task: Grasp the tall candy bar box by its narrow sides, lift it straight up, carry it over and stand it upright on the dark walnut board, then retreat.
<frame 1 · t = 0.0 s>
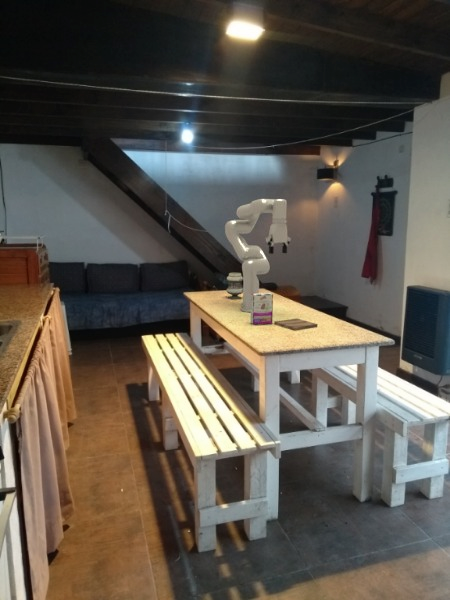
hand: (277, 253, 246), 37 cm above the table, tool pointing down, fingers open, 9 cm apart
apothecary jar: (234, 298, 313), on the table
walnut board: (295, 325, 234), on the table
candy bar box: (261, 323, 238), on the table
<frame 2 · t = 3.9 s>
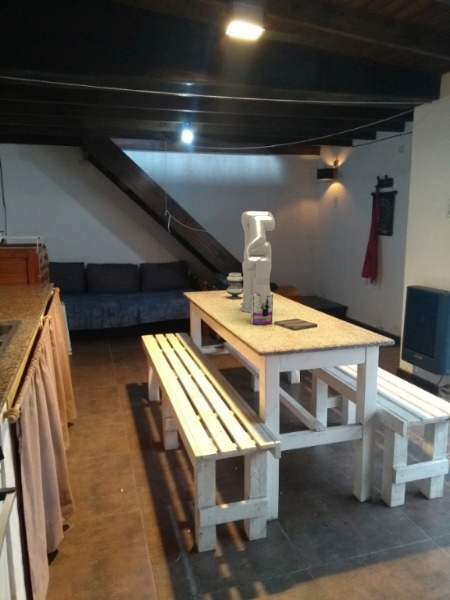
hand: (261, 314, 237), 5 cm above the table, tool pointing down, fingers closed on candy bar box, 6 cm apart
candy bar box: (261, 323, 238), on the table, touching gripper
everything else where it was.
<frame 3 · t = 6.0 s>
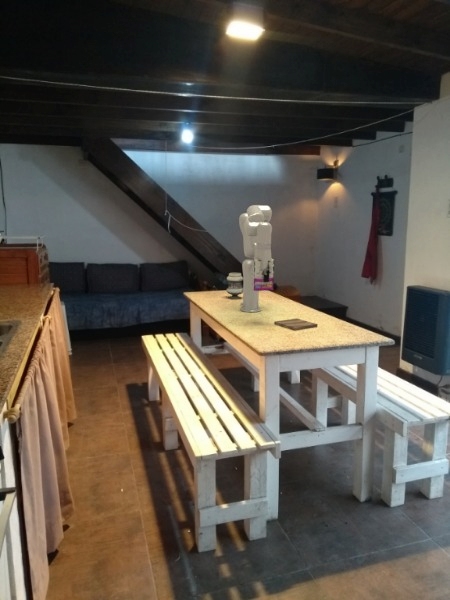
hand: (262, 280, 234), 23 cm above the table, tool pointing down, fingers closed on candy bar box, 6 cm apart
candy bar box: (261, 290, 235), point 18 cm above the table, touching gripper
everything else where it was.
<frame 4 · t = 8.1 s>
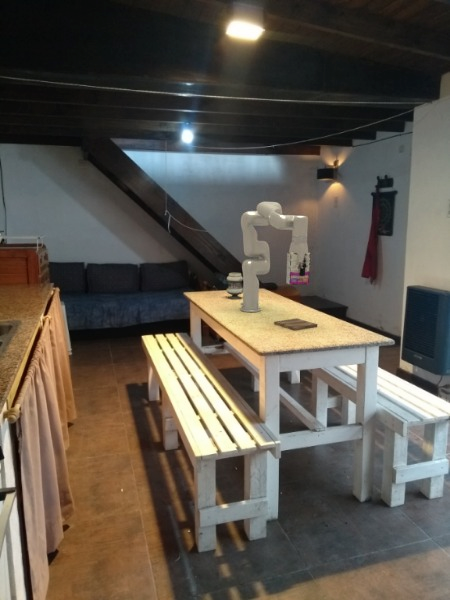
hand: (297, 274, 229), 27 cm above the table, tool pointing down, fingers closed on candy bar box, 6 cm apart
candy bar box: (297, 284, 230), point 22 cm above the table, touching gripper
everything else where it was.
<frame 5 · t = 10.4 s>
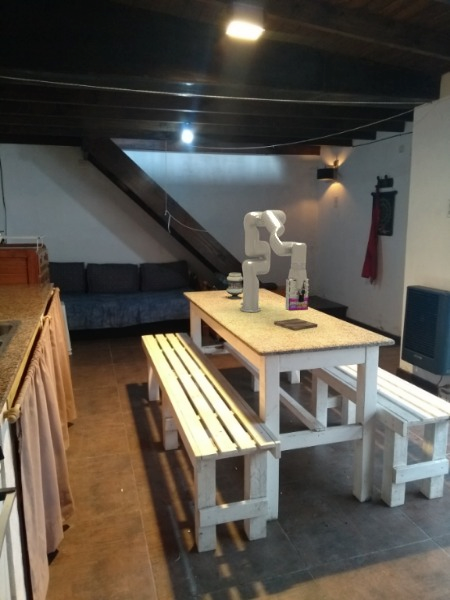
hand: (296, 300, 232), 13 cm above the table, tool pointing down, fingers closed on candy bar box, 6 cm apart
candy bar box: (296, 310, 232), point 8 cm above the table, touching gripper
everything else where it was.
when the fingers open (7 cm above the table, at t = 12.2 s): candy bar box stays where it is, resting on walnut board.
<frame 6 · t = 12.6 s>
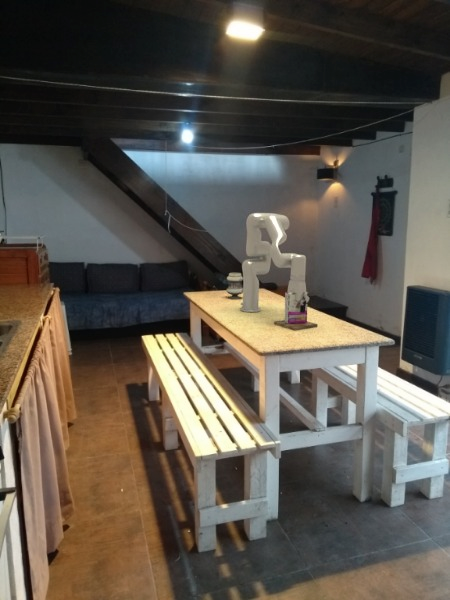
hand: (296, 310, 233), 8 cm above the table, tool pointing down, fingers open, 9 cm apart
candy bar box: (295, 323, 234), point 1 cm above the table, touching walnut board
everything else where it was.
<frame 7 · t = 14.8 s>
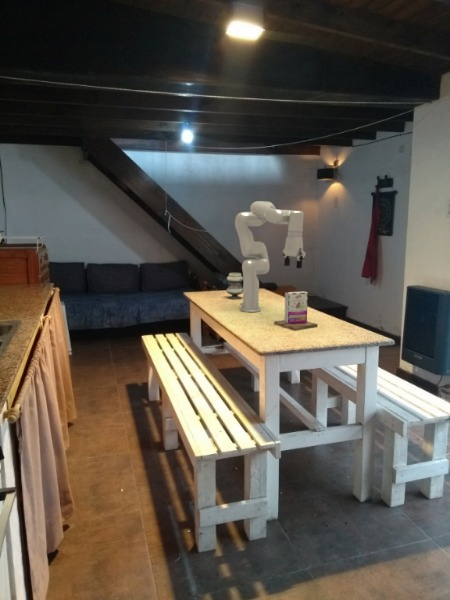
hand: (292, 266, 236), 30 cm above the table, tool pointing down, fingers open, 9 cm apart
nothing on the table moved.
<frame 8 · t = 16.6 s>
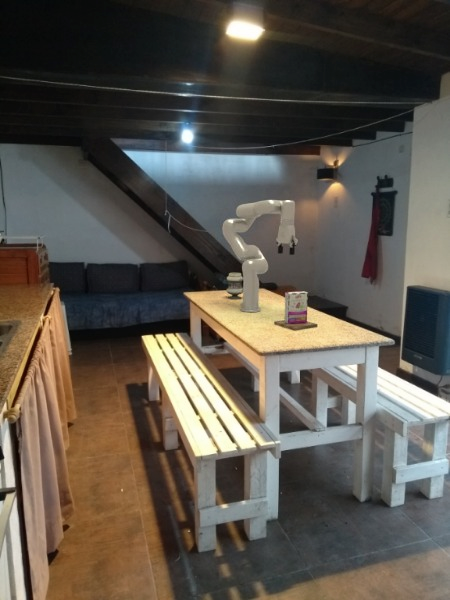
hand: (286, 254, 247), 36 cm above the table, tool pointing down, fingers open, 9 cm apart
nothing on the table moved.
at the end: candy bar box inside the target area on the walnut board (0.3 cm from its centre), point 1.3 cm above the walnut board's base; candy bar box tilted 0°; the gripper is holding nothing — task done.
